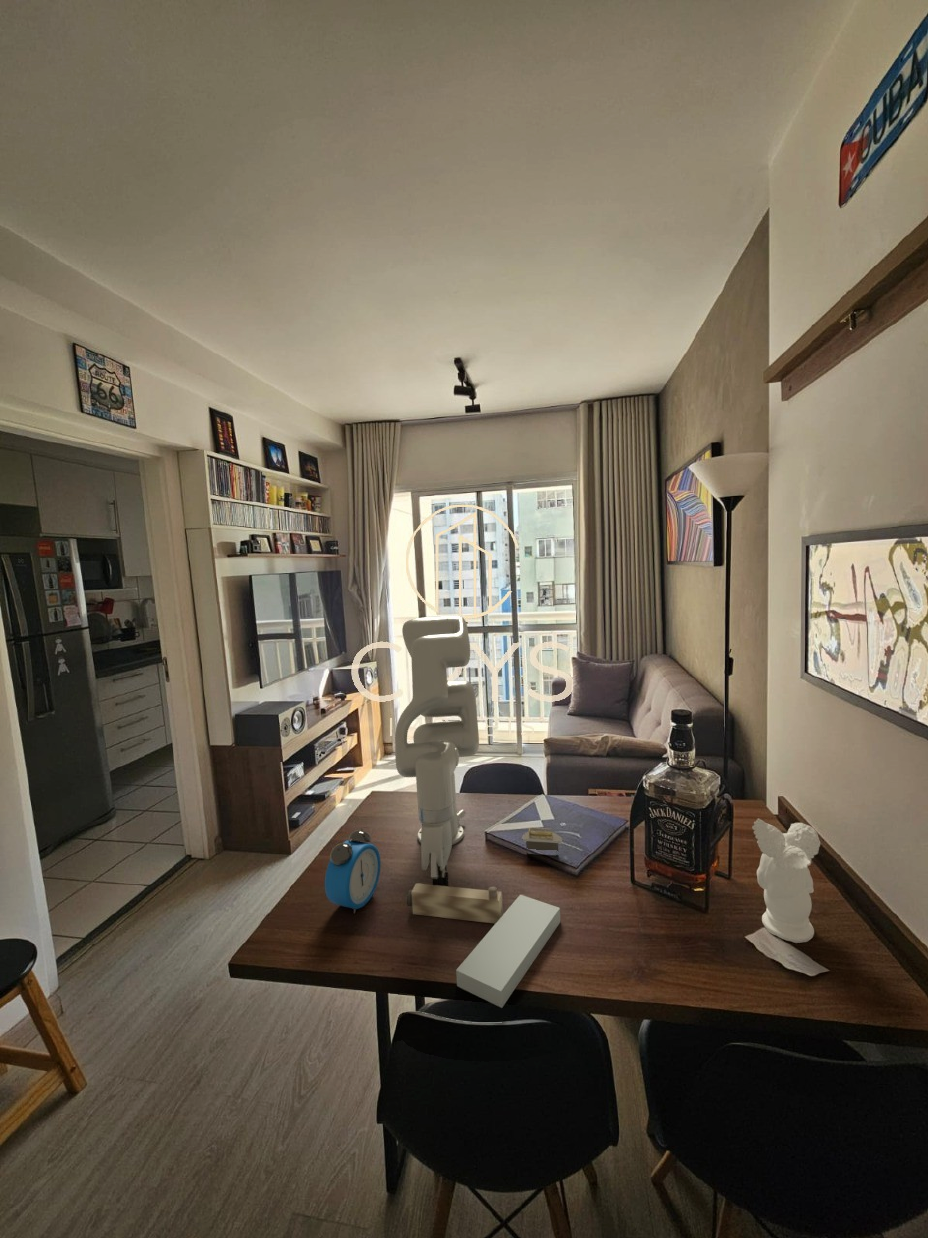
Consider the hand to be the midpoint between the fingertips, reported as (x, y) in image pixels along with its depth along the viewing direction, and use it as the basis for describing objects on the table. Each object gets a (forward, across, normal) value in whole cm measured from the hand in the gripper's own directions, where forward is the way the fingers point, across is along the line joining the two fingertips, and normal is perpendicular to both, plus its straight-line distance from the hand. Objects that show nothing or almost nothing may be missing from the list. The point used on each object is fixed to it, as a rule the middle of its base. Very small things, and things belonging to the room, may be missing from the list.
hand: (441, 891), depth 114 cm
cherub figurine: (+3, +4, +68) cm, 69 cm away
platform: (+3, -21, +22) cm, 30 cm away
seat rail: (+3, +13, +17) cm, 21 cm away
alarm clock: (+3, +2, -19) cm, 20 cm away
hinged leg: (+2, +4, +4) cm, 6 cm away
